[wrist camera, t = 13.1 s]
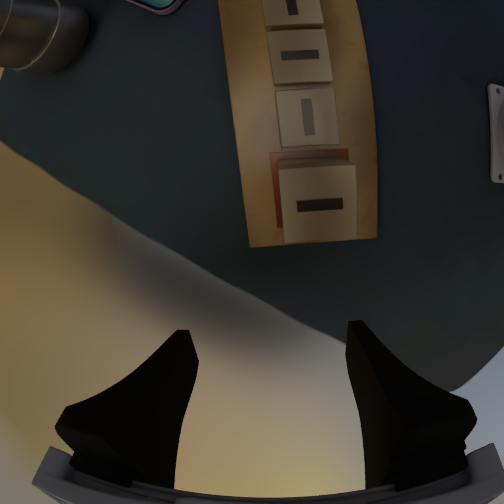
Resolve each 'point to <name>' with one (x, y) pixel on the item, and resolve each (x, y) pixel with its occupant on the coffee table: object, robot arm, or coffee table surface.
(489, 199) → the coffee table surface
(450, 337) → the coffee table surface
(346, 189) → the beige cube with bar
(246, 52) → the wooden board
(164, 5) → the smartphone
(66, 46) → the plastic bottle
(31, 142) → the coffee table surface
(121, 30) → the coffee table surface
